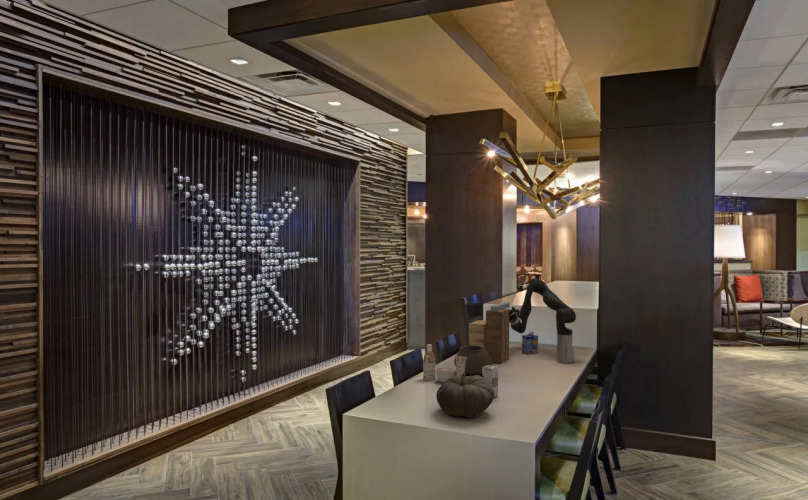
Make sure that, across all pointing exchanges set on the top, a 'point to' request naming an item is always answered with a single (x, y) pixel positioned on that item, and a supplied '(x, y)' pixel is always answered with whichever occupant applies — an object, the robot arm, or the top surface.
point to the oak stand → (477, 333)
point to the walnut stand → (497, 335)
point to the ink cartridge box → (530, 343)
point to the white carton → (491, 377)
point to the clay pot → (474, 358)
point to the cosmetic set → (441, 372)
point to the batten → (500, 306)
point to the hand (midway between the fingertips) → (506, 307)
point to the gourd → (465, 395)
